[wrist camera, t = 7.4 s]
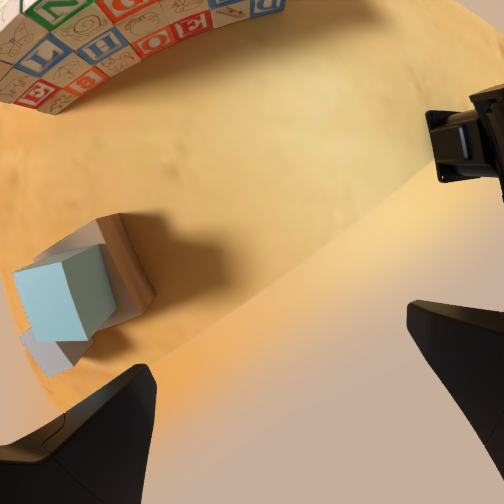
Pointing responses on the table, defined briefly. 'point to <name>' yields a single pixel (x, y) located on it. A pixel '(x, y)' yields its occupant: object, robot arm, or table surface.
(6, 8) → the stack of blocks
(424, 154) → the table surface
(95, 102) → the table surface
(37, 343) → the light grey cube
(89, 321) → the teal cube
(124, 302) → the walnut block
